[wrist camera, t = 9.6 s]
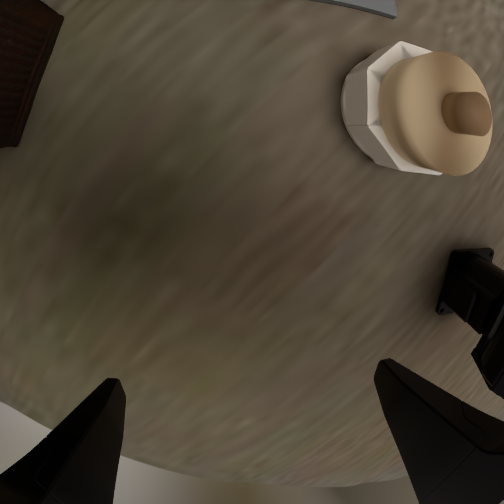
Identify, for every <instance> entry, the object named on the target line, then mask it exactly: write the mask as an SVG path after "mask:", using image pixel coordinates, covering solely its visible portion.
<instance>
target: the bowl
mask: <svg viewBox="0 0 504 504" xmlns="http://www.w3.org/2000/svg"><path fill="white" fill-rule="evenodd" d="M430 52H432V51H429V50H426V49H424V48H421V47H418V46H415V45H412V44H409V43H406V42H402V41H399V42H396V43H394V44H391V45H389V46H386V47H384V48H381V49H379V50H377V51H375V52H374V53H373V54H372V55H370V56H369V57H368V58H367V59H365V60H363V61H361V62H360V63H358V64H357V65H355V66H354V67H353V68H352V69H351V71H350V72H349V74H348V75H347V77H346V79H345V81H344V84H343V87H342V92H341V112H342V118H343V121H344V124H345V127H346V129H347V131H348V133H349V135H350V137H351V139H352V140H353V141H354V143H355V144H356V145H357V146H358V148H359V149H360V150H361V151H362V152H364V153H365V154H366V155H367V156H369V157H370V158H372V159H373V161H374V162H375V163H376V164H377V165H381V166H385V167H389V168H392V169H396V170H400V171H407V172H417V173H425V174H434V175H442V174H443V173H440V172H437V171H433V170H429V169H425V168H422V167H418V166H415V165H412V164H411V163H409V162H407V161H406V160H404V159H403V158H402V157H401V156H400V155H399V154H398V153H397V152H396V151H395V150H394V149H393V147H392V146H391V144H390V143H389V141H388V139H387V137H386V135H385V133H384V130H383V128H382V125H381V121H380V117H379V110H378V95H379V89H380V85H381V82H382V80H383V78H384V76H385V74H386V72H387V71H388V70H389V69H390V68H391V67H392V66H393V65H394V64H396V63H397V62H399V61H401V60H405V59H408V58H412V57H415V56H419V55H422V54H426V53H430Z"/></svg>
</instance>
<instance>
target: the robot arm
mask: <svg viewBox="0 0 504 504" xmlns="http://www.w3.org/2000/svg"><path fill="white" fill-rule="evenodd" d="M493 255H494V251H493V250H492V249H491V248H485V249H469V250H455V251H453V252H452V254H451V257H450V261H449V265H448V269H447V273H446V277H445V281H444V284H443V288H442V292H441V295H440V298H439V302H438V305H437V308H436V312H437V313H438V314H439V315H443V314H448V313H452V312H455V313H456V314H457V315H458V316H459V317H460V318H461V319H462V320H463V321H464V322H467V323H468V324H469V325H470V326H471V327H472V328H473V329H474V330H475V331H476V332H477V333H478V334H482V337H481V338H480V340H479V342H478V344H477V346H476V347H475V348H474V349H473V351H472V353H471V355H472V357H473V359H474V361H475V363H476V365H477V366H478V368H479V370H480V372H481V374H482V376H483V378H484V380H485V382H486V384H487V386H488V388H489V389H490V390H491V391H493V392H494V393H495V394H497V395H499V396H501V397H502V398H503V399H504V270H502V269H501V268H499V267H497V266H496V265H494V264H493V263H492V259H493ZM455 256H456V257H455ZM374 383H375V386H376V389H377V393H378V396H379V399H380V403H381V406H382V410H383V413H384V416H385V418H386V421H387V423H388V425H389V428H390V430H391V433H392V435H393V437H394V440H395V442H396V445H397V447H398V450H399V452H400V455H401V457H402V460H403V462H404V465H405V467H406V470H407V472H408V475H409V477H410V480H411V483H412V485H413V488H414V491H415V493H416V496H417V499H418V501H419V504H504V421H501V420H499V419H497V418H495V417H492V416H490V415H488V414H486V413H484V412H482V411H480V410H478V409H476V408H474V407H472V406H470V405H469V404H467V403H465V402H463V401H461V400H460V399H458V398H456V397H455V396H453V395H451V394H450V393H448V392H446V391H445V390H443V389H441V388H439V387H438V386H436V385H434V384H433V383H431V382H429V381H428V380H426V379H424V378H423V377H421V376H419V375H418V374H416V373H414V372H412V371H411V370H409V369H407V368H406V367H404V366H402V365H401V364H399V363H398V362H396V361H394V360H393V359H390V358H388V359H383V360H380V361H379V363H378V366H377V369H376V372H375V375H374ZM125 406H126V395H125V392H124V390H123V387H122V385H121V382H120V380H119V379H117V378H107V379H105V380H104V381H103V382H102V383H101V384H100V385H99V386H98V387H97V388H96V389H95V390H94V391H93V392H92V393H91V394H90V395H89V396H88V397H87V398H86V399H85V400H83V401H82V402H81V403H80V404H79V405H78V406H77V407H76V408H75V409H74V410H73V411H72V412H71V413H70V414H69V415H68V416H67V417H66V418H65V419H64V420H63V421H62V422H61V423H60V424H59V425H57V426H56V427H55V428H54V429H53V430H52V431H51V432H50V433H49V434H48V435H47V438H46V437H45V438H44V439H43V440H42V441H41V442H40V443H39V444H38V445H37V446H35V447H34V448H33V449H32V450H31V451H30V452H29V453H27V454H26V455H25V456H24V457H23V458H21V459H20V460H19V461H17V462H16V463H15V464H13V465H12V466H11V467H9V468H8V469H7V470H6V471H4V472H3V473H2V474H0V504H113V498H114V490H115V483H116V476H117V470H118V464H119V458H120V452H121V447H122V441H123V432H124V418H125Z"/></svg>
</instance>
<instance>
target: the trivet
mask: <svg viewBox="0 0 504 504" xmlns="http://www.w3.org/2000/svg"><path fill="white" fill-rule="evenodd" d="M313 1H319V2H325V3H331V4H336V5H341V6H346V7H350V8H355V9H359V10H363V11H367V12H371V13H374V14H378V15H382V16H385V17H388V18H392V19H394V18H396V17H397V12H396V5H395V0H313Z"/></svg>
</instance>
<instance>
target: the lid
mask: <svg viewBox="0 0 504 504" xmlns="http://www.w3.org/2000/svg"><path fill="white" fill-rule="evenodd" d="M378 110H379V117H380V121H381V125H382V128H383V130H384V133H385V135H386V137H387V139H388V141H389V143H390V144H391V146H392V147H393V149H394V150H395V151H396V152H397V153H398V154H399V155H400V156H401V157H402V158H403V159H404V160H406V161H407V162H409V163H411V164H412V165H415V166H418V167H422V168H425V169H429V170H433V171H437V172H440V173H444V174H448V175H452V176H461V175H465V174H468V173H470V172H472V171H473V170H475V169H476V168H477V167H478V166H479V165H480V163H481V162H482V161H483V159H484V158H485V156H486V154H487V151H488V148H489V146H490V141H491V136H492V113H491V107H490V103H489V99H488V96H487V93H486V91H485V88H484V86H483V84H482V82H481V81H480V79H479V77H478V76H477V74H476V73H475V72H474V70H473V69H472V68H471V67H470V66H469V65H468V64H467V63H466V62H465V61H463V60H462V59H461V58H459V57H458V56H456V55H454V54H451V53H448V52H444V51H434V52H430V53H426V54H422V55H419V56H415V57H412V58H408V59H405V60H401V61H399V62H397V63H396V64H394V65H393V66H392V67H391V68H390V69H389V70H388V71H387V72H386V74H385V76H384V78H383V80H382V82H381V85H380V89H379V95H378Z"/></svg>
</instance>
